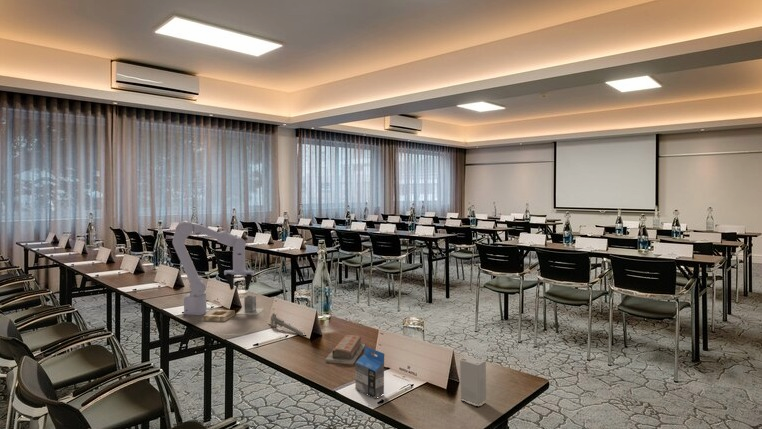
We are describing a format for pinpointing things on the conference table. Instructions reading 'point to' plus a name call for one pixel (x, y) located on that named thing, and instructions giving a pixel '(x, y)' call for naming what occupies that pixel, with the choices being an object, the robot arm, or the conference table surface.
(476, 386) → the skincare box
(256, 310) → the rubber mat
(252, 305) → the key peg
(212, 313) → the holder block
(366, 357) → the label tape cartridge
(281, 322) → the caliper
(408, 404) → the conference table surface
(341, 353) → the packaged product
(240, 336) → the conference table surface
